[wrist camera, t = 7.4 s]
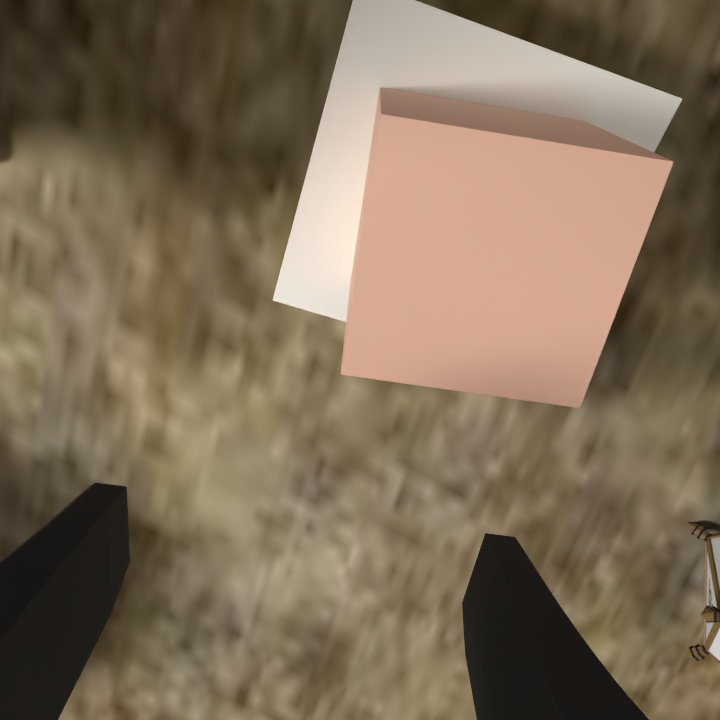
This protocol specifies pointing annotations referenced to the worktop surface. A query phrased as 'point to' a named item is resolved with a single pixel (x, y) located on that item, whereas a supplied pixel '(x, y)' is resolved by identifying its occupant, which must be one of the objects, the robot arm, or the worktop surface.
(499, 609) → the robot arm
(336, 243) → the cream base block
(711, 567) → the game die
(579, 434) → the worktop surface
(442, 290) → the terracotta cube
